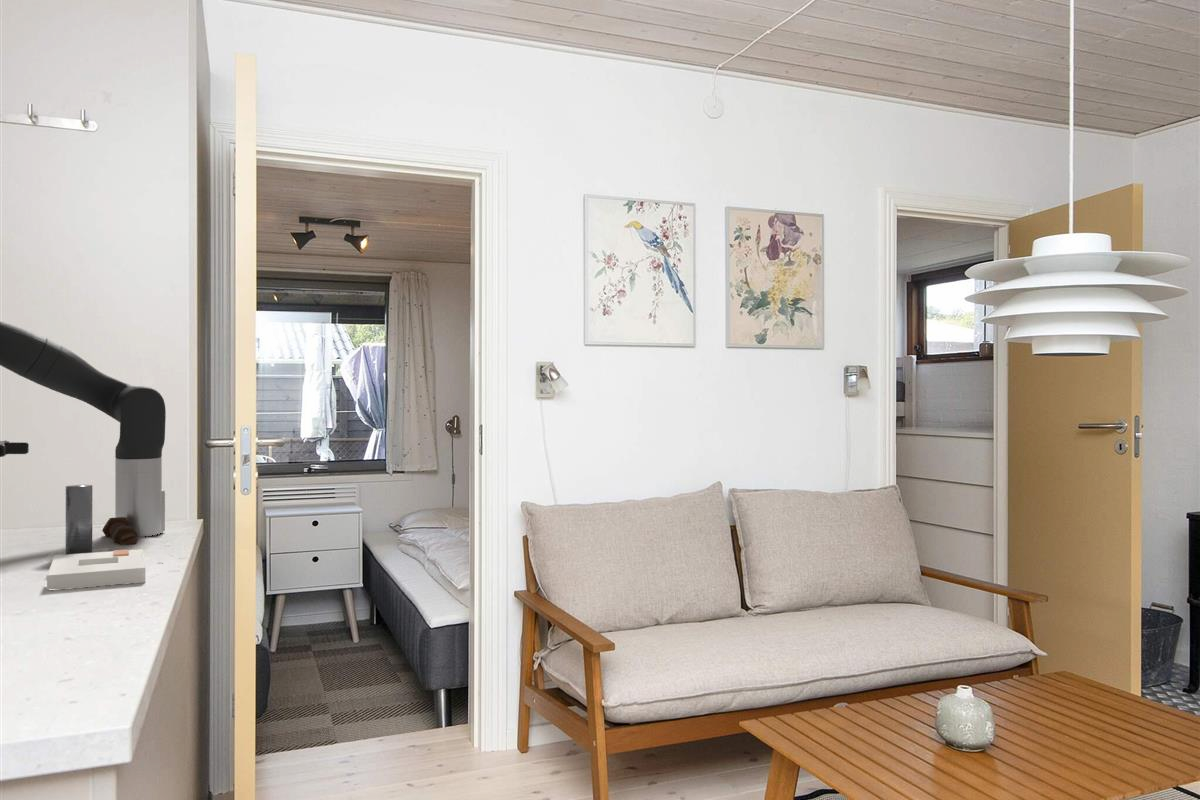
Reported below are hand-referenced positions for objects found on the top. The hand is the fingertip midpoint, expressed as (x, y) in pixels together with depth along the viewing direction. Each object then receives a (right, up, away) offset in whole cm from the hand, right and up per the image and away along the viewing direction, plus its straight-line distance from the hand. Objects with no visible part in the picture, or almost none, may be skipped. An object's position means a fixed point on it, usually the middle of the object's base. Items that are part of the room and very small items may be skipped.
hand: (16, 449), depth 167 cm
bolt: (+10, -21, +19) cm, 30 cm away
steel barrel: (+11, -20, +2) cm, 23 cm away
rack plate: (+23, -21, -13) cm, 34 cm away
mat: (+11, -21, +2) cm, 24 cm away
